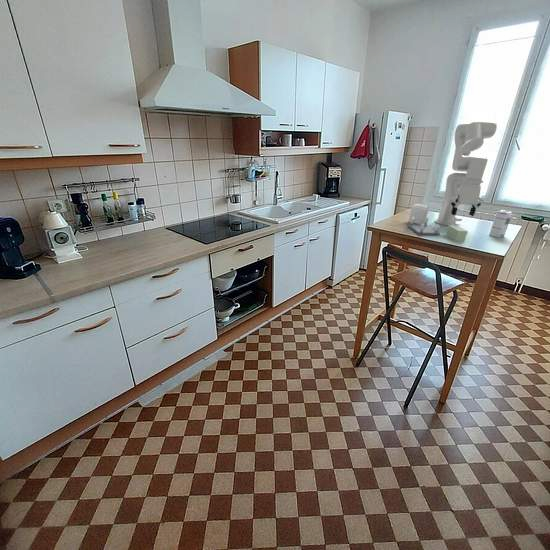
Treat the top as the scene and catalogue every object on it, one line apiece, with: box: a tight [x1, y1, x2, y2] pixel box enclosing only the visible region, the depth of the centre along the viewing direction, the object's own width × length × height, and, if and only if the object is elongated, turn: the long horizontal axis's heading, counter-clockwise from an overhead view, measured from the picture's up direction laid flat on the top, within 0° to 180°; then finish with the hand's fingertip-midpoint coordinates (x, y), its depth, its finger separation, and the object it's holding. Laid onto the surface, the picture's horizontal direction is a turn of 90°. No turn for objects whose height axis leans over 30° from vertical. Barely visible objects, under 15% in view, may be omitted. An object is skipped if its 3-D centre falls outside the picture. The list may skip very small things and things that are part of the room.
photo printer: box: [408, 203, 429, 225], centre depth 190 cm, size 10×4×12 cm, turn 39°
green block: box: [445, 224, 468, 242], centre depth 165 cm, size 5×11×6 cm, turn 178°
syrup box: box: [489, 209, 513, 238], centre depth 169 cm, size 6×6×14 cm
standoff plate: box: [407, 217, 441, 236], centre depth 176 cm, size 12×17×6 cm
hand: (462, 214), depth 160 cm, fingers open, 9 cm apart
